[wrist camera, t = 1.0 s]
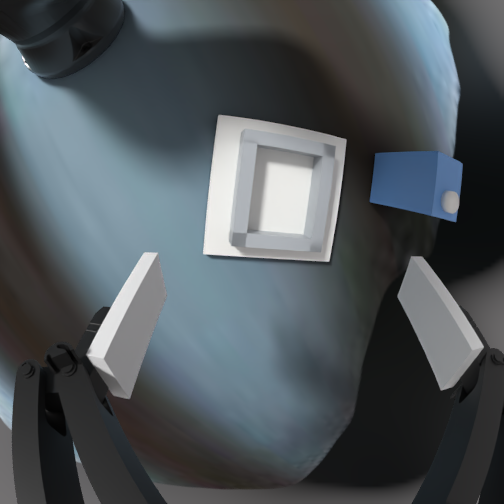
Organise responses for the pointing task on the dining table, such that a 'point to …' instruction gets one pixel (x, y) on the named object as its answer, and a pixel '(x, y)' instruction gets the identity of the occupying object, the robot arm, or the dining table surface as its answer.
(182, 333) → the dining table surface
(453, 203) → the blue drink carton
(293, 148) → the white square socket base
